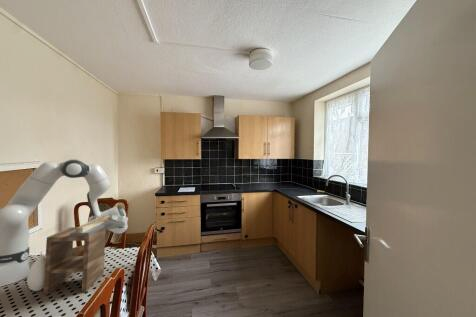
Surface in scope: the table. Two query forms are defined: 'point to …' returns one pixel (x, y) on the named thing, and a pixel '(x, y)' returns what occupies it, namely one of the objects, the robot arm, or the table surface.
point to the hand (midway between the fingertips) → (102, 217)
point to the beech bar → (91, 224)
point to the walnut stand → (73, 259)
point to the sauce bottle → (37, 274)
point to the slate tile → (88, 231)
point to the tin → (78, 251)
